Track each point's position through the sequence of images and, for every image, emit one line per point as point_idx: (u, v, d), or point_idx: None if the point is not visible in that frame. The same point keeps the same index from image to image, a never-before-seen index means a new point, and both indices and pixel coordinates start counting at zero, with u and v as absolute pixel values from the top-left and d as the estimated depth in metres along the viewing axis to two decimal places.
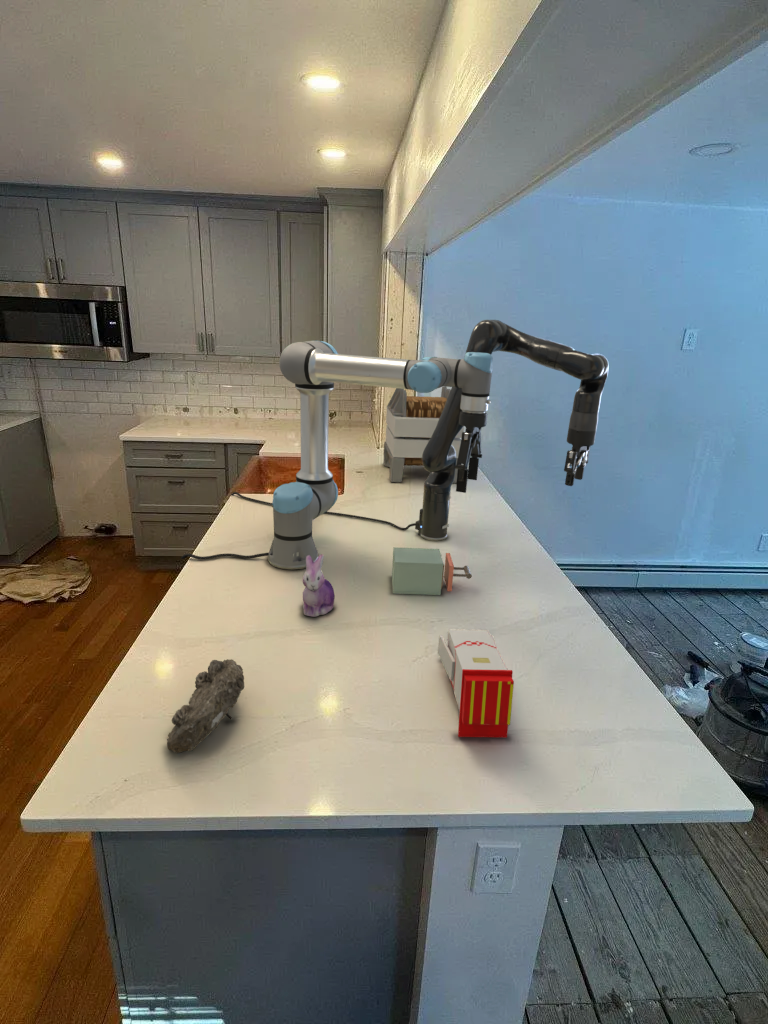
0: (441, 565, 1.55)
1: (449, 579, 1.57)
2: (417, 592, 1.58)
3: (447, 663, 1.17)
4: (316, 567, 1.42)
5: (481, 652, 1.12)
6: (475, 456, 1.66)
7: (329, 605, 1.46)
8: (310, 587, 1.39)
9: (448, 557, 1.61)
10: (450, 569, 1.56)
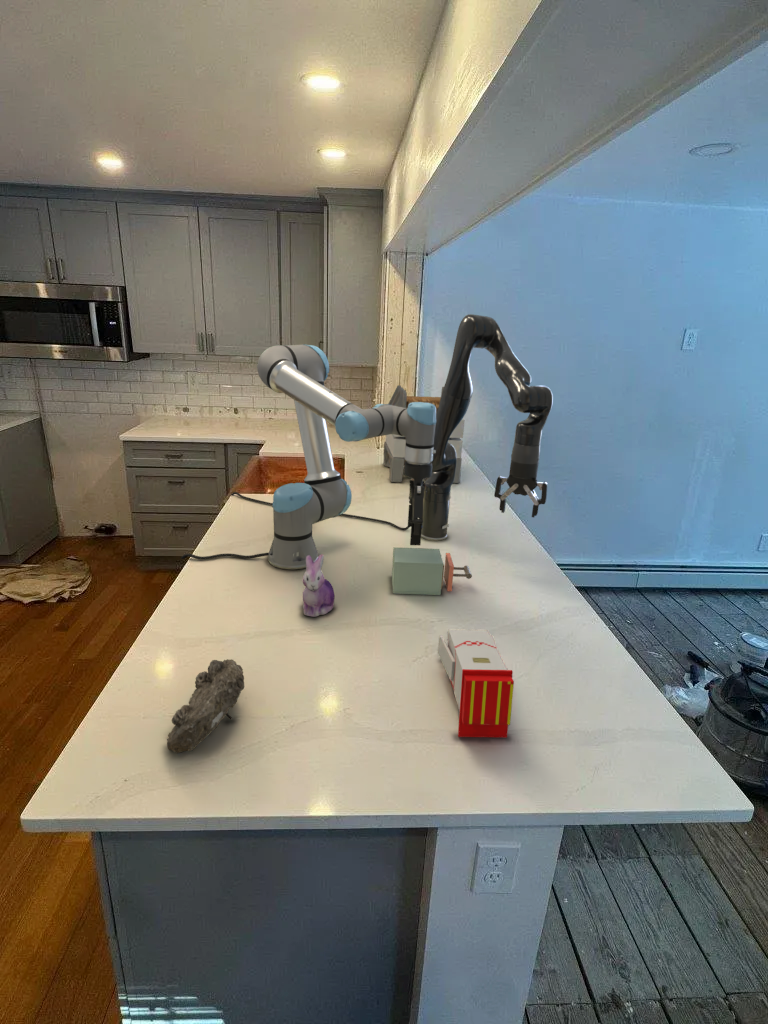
0: (441, 565, 1.55)
1: (449, 579, 1.57)
2: (417, 592, 1.58)
3: (447, 663, 1.17)
4: (316, 567, 1.42)
5: (481, 652, 1.12)
6: None
7: (329, 605, 1.46)
8: (310, 587, 1.39)
9: (448, 557, 1.61)
10: (450, 569, 1.56)
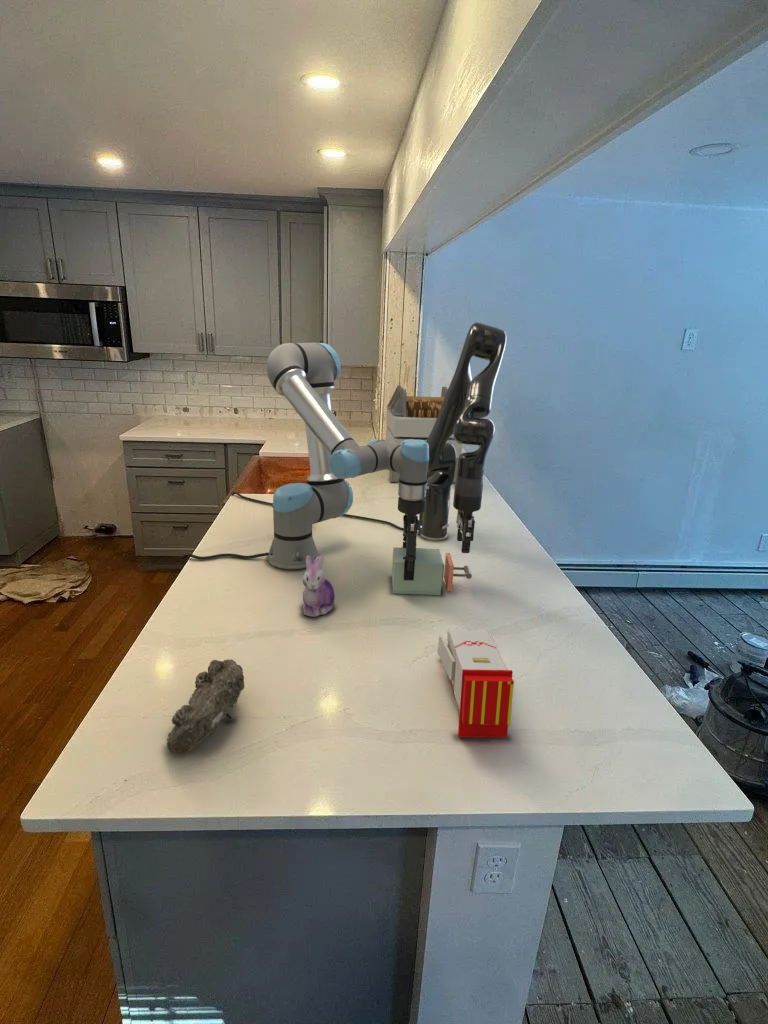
0: (441, 565, 1.55)
1: (449, 579, 1.57)
2: (417, 592, 1.58)
3: (447, 663, 1.17)
4: (316, 567, 1.42)
5: (481, 652, 1.12)
6: None
7: (329, 605, 1.46)
8: (310, 587, 1.39)
9: (448, 557, 1.61)
10: (450, 569, 1.56)
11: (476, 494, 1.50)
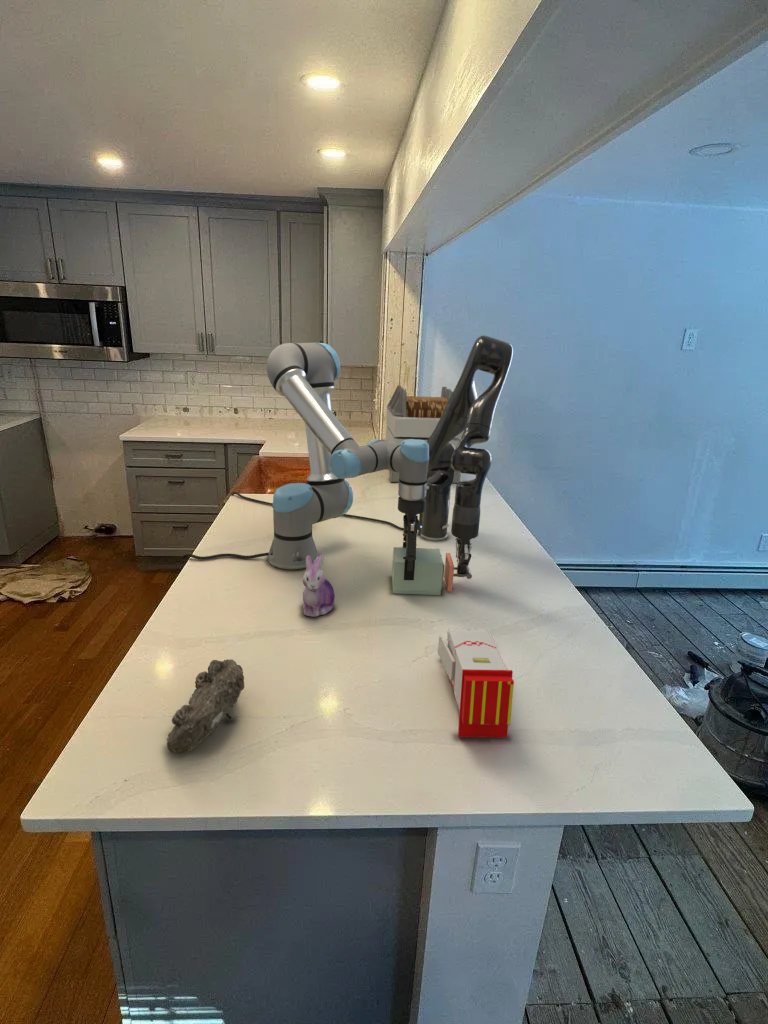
0: (441, 565, 1.55)
1: (449, 579, 1.57)
2: (417, 592, 1.58)
3: (447, 663, 1.17)
4: (316, 567, 1.42)
5: (481, 652, 1.12)
6: None
7: (329, 605, 1.46)
8: (310, 587, 1.39)
9: (448, 557, 1.61)
10: (450, 569, 1.56)
11: (473, 522, 1.53)
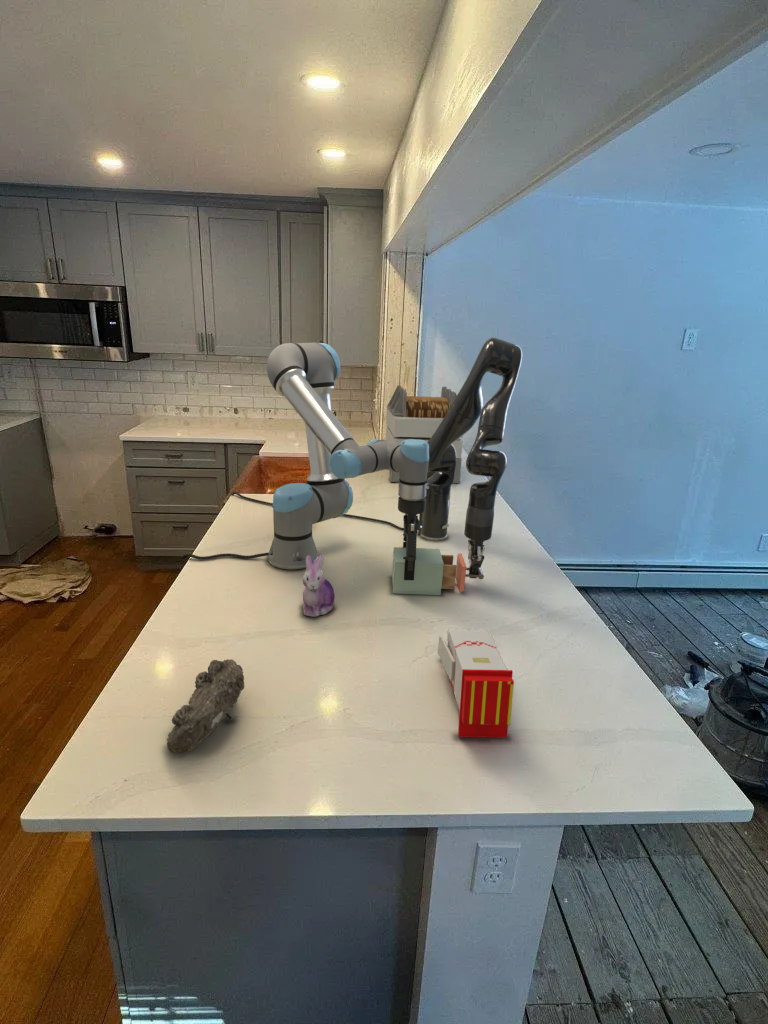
0: (441, 565, 1.55)
1: (461, 579, 1.58)
2: (417, 592, 1.58)
3: (447, 663, 1.17)
4: (316, 567, 1.42)
5: (481, 652, 1.12)
6: None
7: (329, 605, 1.46)
8: (310, 587, 1.39)
9: (460, 557, 1.62)
10: (462, 569, 1.57)
11: (487, 524, 1.53)
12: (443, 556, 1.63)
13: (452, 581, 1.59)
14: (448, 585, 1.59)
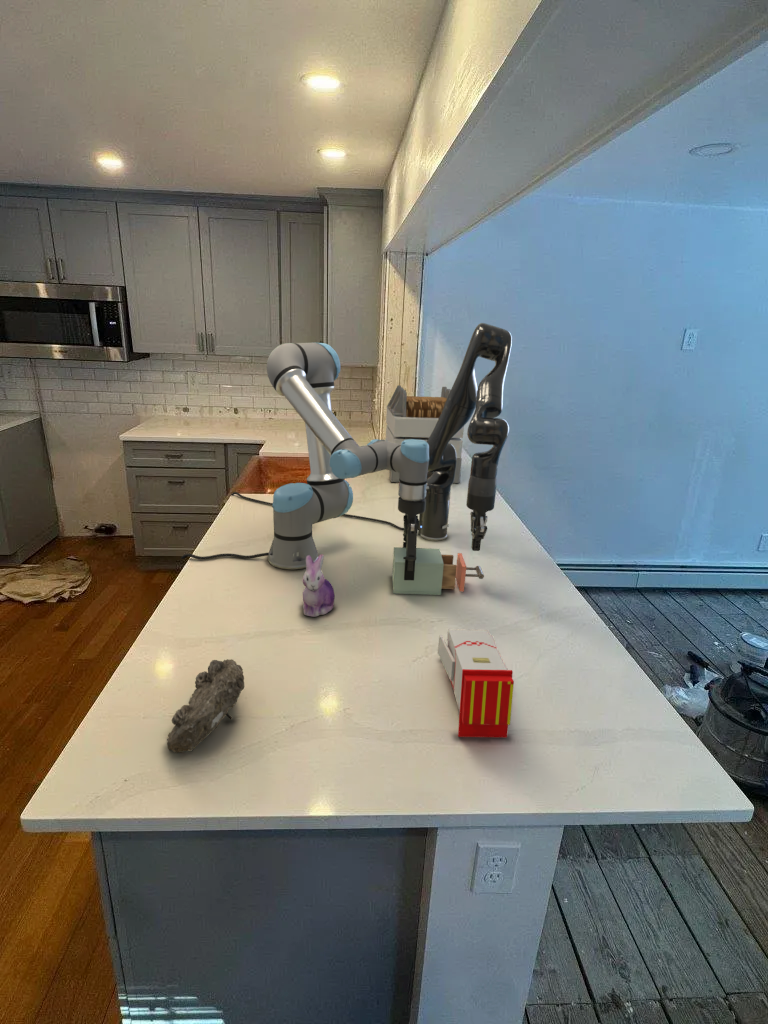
0: (441, 565, 1.55)
1: (461, 579, 1.58)
2: (417, 592, 1.58)
3: (447, 663, 1.17)
4: (316, 567, 1.42)
5: (481, 652, 1.12)
6: None
7: (329, 605, 1.46)
8: (310, 587, 1.39)
9: (460, 557, 1.62)
10: (462, 569, 1.57)
11: (490, 494, 1.50)
12: (443, 556, 1.63)
13: (452, 581, 1.59)
14: (448, 585, 1.59)
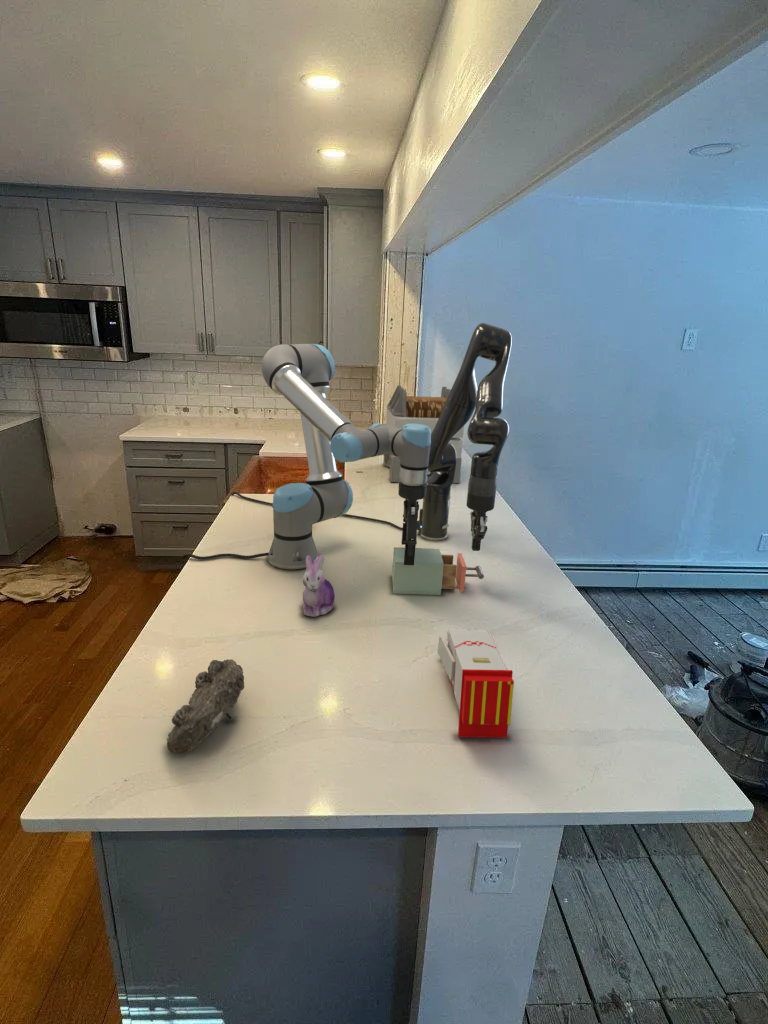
0: (441, 565, 1.55)
1: (461, 579, 1.58)
2: (417, 592, 1.58)
3: (447, 663, 1.17)
4: (316, 567, 1.42)
5: (481, 652, 1.12)
6: None
7: (329, 605, 1.46)
8: (310, 587, 1.39)
9: (460, 557, 1.62)
10: (462, 569, 1.57)
11: (490, 494, 1.50)
12: (443, 556, 1.63)
13: (452, 581, 1.59)
14: (448, 585, 1.59)
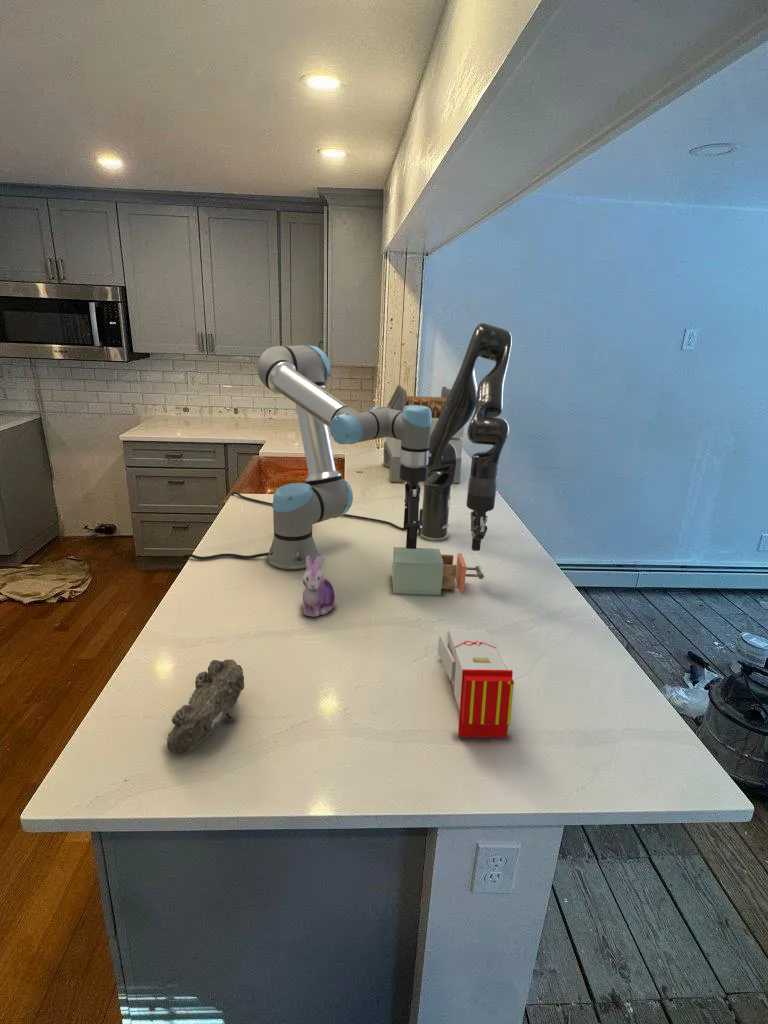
0: (441, 565, 1.55)
1: (461, 579, 1.58)
2: (417, 592, 1.58)
3: (447, 663, 1.17)
4: (316, 567, 1.42)
5: (481, 652, 1.12)
6: None
7: (329, 605, 1.46)
8: (310, 587, 1.39)
9: (460, 557, 1.62)
10: (462, 569, 1.57)
11: (490, 494, 1.50)
12: (443, 556, 1.63)
13: (452, 581, 1.59)
14: (448, 585, 1.59)
